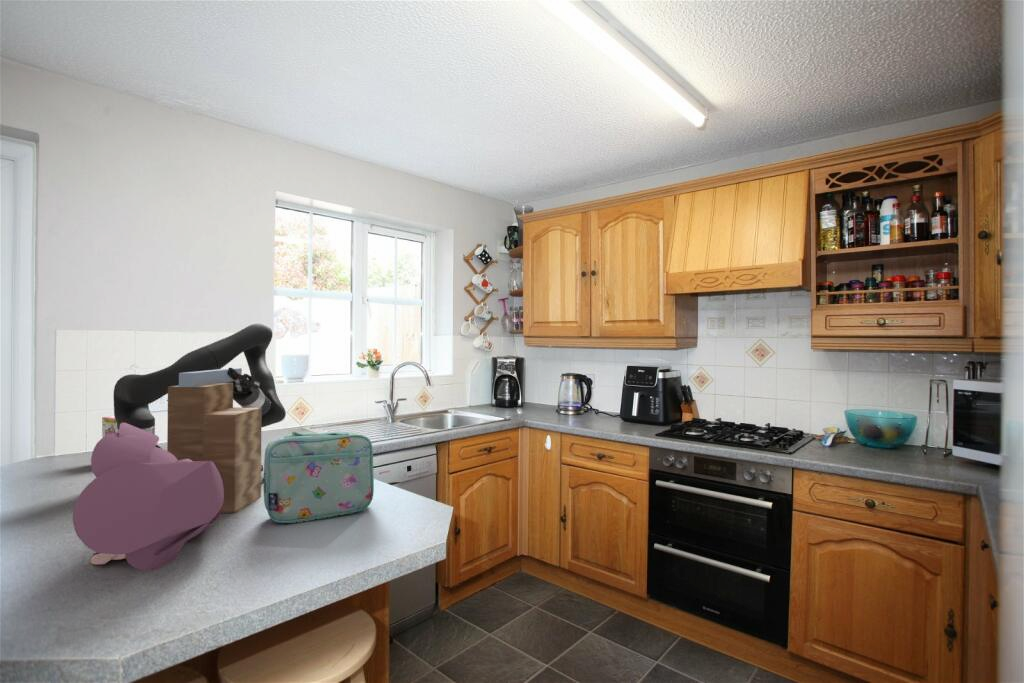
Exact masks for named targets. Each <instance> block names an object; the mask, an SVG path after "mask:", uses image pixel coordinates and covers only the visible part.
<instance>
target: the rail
mask: <svg viewBox="0 0 1024 683" xmlns="http://www.w3.org/2000/svg"><path fill="white" fill-rule="evenodd" d="M229 368H230V367H228V368H221V369H217V370H206V371H196V372H186V373H179V387H196V386H203V385H210V384H217V383H224V382H231V381H235V380H233V379H232V378H231V377H230V376H229V375H228V374H227V373H228V369H229ZM232 368H233V369H234V370H236V371H237V372H238V373H241V375H243V374H242V371H243V369H242V367H240V368H239V367H238V368H237V367H235V368H234V367H232Z"/></svg>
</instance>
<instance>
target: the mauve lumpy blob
mask: <svg viewBox="0 0 1024 683" xmlns="http://www.w3.org/2000/svg"><path fill="white" fill-rule="evenodd" d="M159 440H160V437H159V436H158V435H156V434H155V435H154V434H152V433H149V432H147V431H145V430H142V429H140V428H137V427H135V426H132V425H130V424H127V423H121V424H120V427H119V433H112V434H109V435H106V436H104V437H103V438H102V437H101V438H100V439H99V440H98V442H97V443H96V444H95V445H94V448H93V451H92V452H91V457H90V464H91V466H90V467H91V471H92V473H93V475H94V477H95V478H94V479H93V480H92V481H91V482H90V483H88V484H87V485H86V486H85V487H84V489H83V490H82V491H81V492H80V494H79V495H78V498H77V500H76V501H75V504H74V506H73V510H72V512H73V513H72V526H73V528H74V531H75V534H76V536H77V537H78V539H79V540H80V541H81V542H82V543H83V544H84V546H86V547H87V548H88V549H90V550H92V551H93V554H94V555H93V556H92V557H91V559H90V563H91V564H92V565H105V564H107V563H108V562H109V561H111V560H113V561H114V560H115V561H116V560H123V559H125V560H126V562H127V563H128V564H129V565H131V566H132V567H133V568H135V569H137V570H140V571H145V572H146V571H154V570H156V569H160V568H161V567H164V566H166V565H168V564H170V563H172V562H173V561H174V560H175V559H176V558H177V556H178V554H179V553H180V551H181V549H182V548H183V546H184V545H185V543H186V542H188V541H190V540H192V539H193V538H194V537H196V536H197V535H199V534H200V533H202V532H203V531H204V530H205V528H207V527H208V526H210V525H211V524H214V523H215V522H217V521H218V520H219V519H220V518H221V514H222V513H221V507H222V504H223V501H224V488H223V483H222V479H221V476H220V474H219V472H218V470H217V468H216V466H215V464H214V463H213V462H212V461H194V462H193V461H192V460H190V459H183V460H177V458H176V457H175V456H174V455H173V454H171V453H170V452H168V451H167V450H166V449H164V448H162V447H161V446H159V445H158V443H159Z"/></svg>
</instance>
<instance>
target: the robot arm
mask: <svg viewBox="0 0 1024 683" xmlns="http://www.w3.org/2000/svg"><path fill="white" fill-rule="evenodd" d="M272 339H273V331H272V329H271V327H270V326H268V325H267V324H265V323H254V324H250V325H248V326H246V327H244V328H243V329H240V330H238V331H237V332H235V333H233V334H232V335H229V336H226V337H224V338H222V339H218V340H216V341H214V342H212V343H210V344H207V345H204V346H202V347H199V348H197V349H194V350H191V351H189V352H188V353H186V354H184V355H182V356H181V357H180V358H179V359H177V361H175V362H174V363H172V364H171V365H169V366H167V367H165V368H162V369H159V370H157V371H156V370H155V371H153V372H150V373H146V374H135V373H134V374H133V373H132V374H126V375H123V376H122V377H119V379H118V380H117V381H116V382H115V384H114V388H113V413H114V414H113V416H115V420H116V422H117V433H119V427H120V424H121V423H127V424H130V425H132V426H135V427H137V428H140V429H142V430H145V431H147V432H149V433H152V434H154V435H156V419H155V416H154V415H153V414H152V412H151V410H150V407H149V405H150V404H152V403H154V402H156V401H157V400H159V399H161V398H163V397H164V396H165V395H168V387H171V386H178V385H179V373H186V372H196V371H206V370H217V369H223V368H224V367H225V366H227V365H228V364H229V363H230V362H232V361H233V360H234V359H235V358H236V357H238V356H239V355H241V354H242V353H243V355H244V356H245V359H246V363H247V366H248V369H249V372H250V374H247V373H244V374H242V375H241V373H238V372H237V371H236V370H234V369H233V368H234V367H228V368H229V369H228V373H227V374H228V375H229V376H230V377H231V378H232V379H233V380H235V381H231V382H224V383H233V402H235V403H237V404H238V405H239V406H240V408H262V421H261V428H264V427H268V426H270V425H274V424H278V423H281V422H283V421H284V420H285V418H286V413H287V412H286V409H285V406H284V405H283V404H282V402H281V400H280V399H279V395H278V393H277V390H276V384H275V378H274V376H273V374H272V372H271V370H270V368H269V367H268V364H267V362H266V360H267V359H266V357H267V356H266V354H267V353H266V352H267V349H268V347H269V346H270V344H271V341H272Z"/></svg>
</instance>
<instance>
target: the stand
mask: <svg viewBox="0 0 1024 683" xmlns="http://www.w3.org/2000/svg"><path fill="white" fill-rule="evenodd" d="M261 421H262V408H243V407H234V400H233V383H217V384H210V385H203V386H196V387H179V385H178V386H171V387H168V394H167V431H166V432H167V436H166V437H167V438H166V439H167V448H166V449H167V450H166V451H168V452H170V453H171V454H173V455H174V456H175V457H176V458H177V460H183V459H190V460H192V461H193V462H194V461H212V462H213V463H214V464H215V466H216V468H217V470H218V472H219V474H220V476H221V479H222V483H223V488H224V501H223V504H222V507H221V514H236V513H237V512H239V511H241V510H242V509H243V508H246V506H248V505H249V504H251V503H253V502H255V501H256V500H258V499H260V498H261V497H262V486H261V487H259V486H260V484H261V482H262V472H261V465H262V427H261Z"/></svg>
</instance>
